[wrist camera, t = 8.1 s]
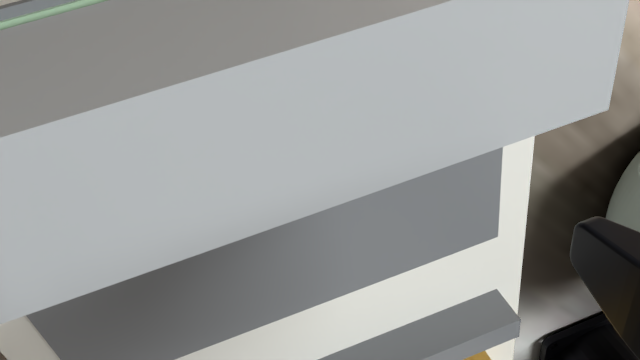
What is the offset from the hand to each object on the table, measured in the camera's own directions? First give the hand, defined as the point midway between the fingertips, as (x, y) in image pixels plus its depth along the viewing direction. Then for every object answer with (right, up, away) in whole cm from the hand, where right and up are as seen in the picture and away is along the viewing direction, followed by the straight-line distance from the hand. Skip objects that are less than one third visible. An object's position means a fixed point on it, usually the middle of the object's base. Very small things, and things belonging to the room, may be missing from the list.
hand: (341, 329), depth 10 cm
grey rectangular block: (-2, +5, +2) cm, 6 cm away
